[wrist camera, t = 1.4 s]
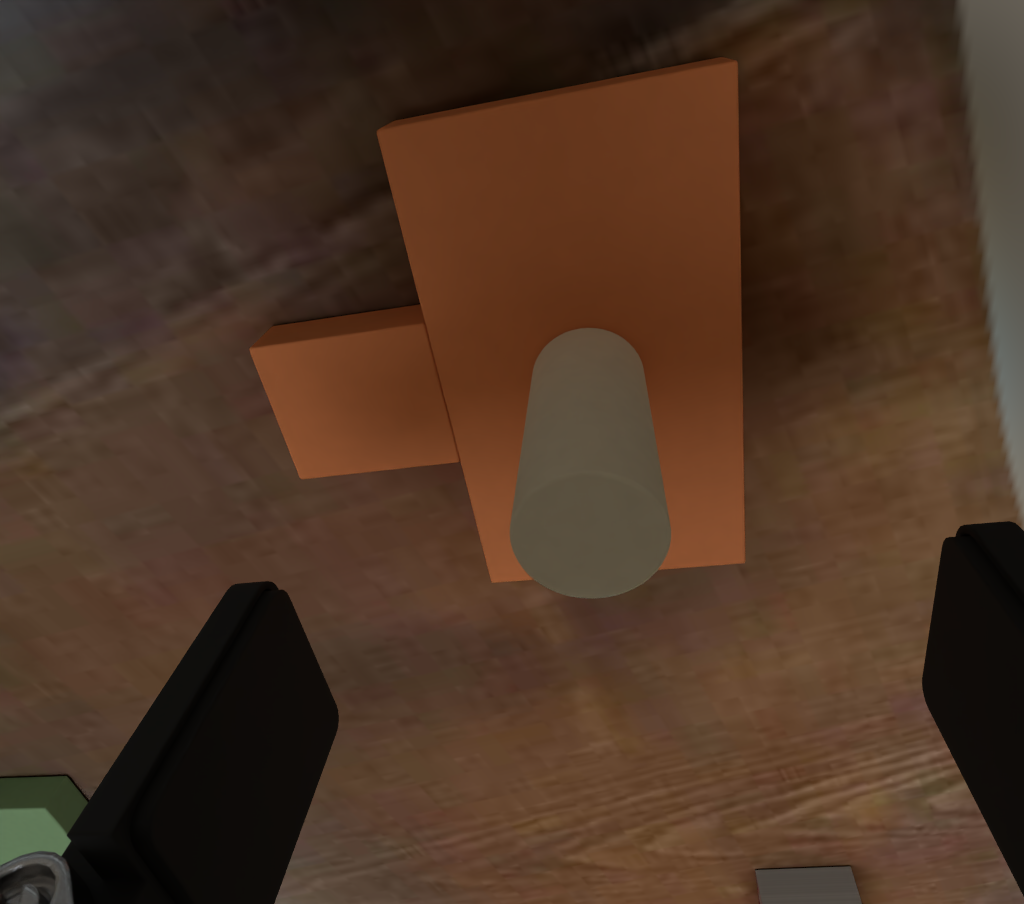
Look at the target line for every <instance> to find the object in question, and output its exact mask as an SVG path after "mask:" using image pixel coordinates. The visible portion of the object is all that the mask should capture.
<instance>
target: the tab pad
mask: <svg viewBox="0 0 1024 904" xmlns="http://www.w3.org/2000/svg"><path fill="white" fill-rule="evenodd" d="M377 137H378V141H379V144H380V148H381V152H382V156H383V160H384V164H385V168H386V172H387V176H388V180H389V184H390V187H391V191H392V195H393V199H394V203H395V207H396V211H397V215H398V219H399V223H400V227H401V231H402V234H403V238H404V242H405V246H406V250H407V254H408V258H409V262H410V266H411V270H412V274H413V277H414V281H415V285H416V289H417V293H418V297H419V301H420V304H419V305H412V306H406V307H399V308H392V309H385V310H379V311H372V312H365V313H358V314H352V315H345V316H338V317H332V318H325V319H318V320H311V321H305V322H298V323H291V324H284V325H278V326H272V327H271V328H270V329H269V330H268V331H267V332H266V333H265V334H264V335H263V336H262V337H261V338H260V339H259V340H258V341H257V342H256V343H255V344H254V345H253V346H252V347H251V348H250V349H249V350H250V353H251V356H252V358H253V361H254V363H255V366H256V368H257V371H258V374H259V376H260V379H261V381H262V384H263V386H264V389H265V391H266V394H267V396H268V399H269V401H270V404H271V406H272V409H273V411H274V414H275V416H276V419H277V421H278V424H279V426H280V429H281V431H282V434H283V436H284V439H285V441H286V444H287V447H288V449H289V452H290V454H291V457H292V459H293V462H294V464H295V467H296V469H297V472H298V474H299V477H300V478H301V479H309V478H318V477H327V476H336V475H345V474H355V473H364V472H373V471H382V470H391V469H401V468H410V467H419V466H428V465H437V464H447V463H456V462H459V461H461V465H462V469H463V473H464V477H465V481H466V485H467V489H468V493H469V497H470V501H471V504H472V508H473V512H474V516H475V520H476V524H477V528H478V532H479V536H480V540H481V544H482V547H483V551H484V555H485V559H486V563H487V567H488V571H489V575H490V579H491V582H492V583H497V582H510V581H523V580H535V581H537V582H538V583H540V584H541V585H543V586H545V587H546V588H548V589H550V590H553V591H555V592H558V593H560V594H564V595H568V596H572V597H578V598H604V597H611V596H615V595H619V594H622V593H625V592H628V591H630V590H632V589H634V588H636V587H638V586H639V585H641V584H643V583H644V582H645V581H647V580H648V579H649V578H650V577H651V576H652V575H653V574H654V573H655V572H656V571H657V570H663V569H675V568H688V567H701V566H713V565H726V564H739V563H745V500H744V434H743V368H742V302H741V236H740V170H739V105H738V63H737V61H735V60H732V59H728V58H724V57H718V58H713V59H708V60H703V61H698V62H693V63H688V64H682V65H677V66H672V67H667V68H662V69H657V70H652V71H647V72H641V73H636V74H631V75H626V76H621V77H616V78H611V79H606V80H600V81H595V82H590V83H585V84H580V85H575V86H570V87H565V88H559V89H554V90H549V91H544V92H539V93H534V94H529V95H524V96H518V97H513V98H508V99H503V100H498V101H493V102H488V103H483V104H477V105H472V106H467V107H462V108H457V109H452V110H447V111H442V112H436V113H431V114H426V115H421V116H416V117H411V118H406V119H401V120H395V121H393V122H391V123H389V124H387V125H385V126H384V127H382V128H380V129H378V130H377Z"/></svg>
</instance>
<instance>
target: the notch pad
mask: <svg viewBox="0 0 1024 904" xmlns="http://www.w3.org/2000/svg"><path fill="white" fill-rule="evenodd" d="M87 803H88V802H87V800H86V799H85V798H84V797H83V795H82V794H81V793H80V792H79V790H78V789H77V788H76V787H75V785H74V784H73V783H72V782H71V780H70V779H69V778H68V777H67V776H50V777H21V778H0V865H2V864H4V863H6V862H8V861H10V860H13V859H15V858H17V857H19V856H21V855H24V854H29V853H33V852H37V851H48V852H56V853H57V854H59V855H60V856H62V854H63V853H64V851H65V850H66V848H67V847H68V845H69V844H70V842H71V840H70V839H69V838H68V837H67V836H66V835H67V834H68V832H69V831H70V829H71V828H72V826H73V825H74V823H75V822H76V820H77V819H78V817H79V816H80V814H81V812H82V811H83V809H84V808H85V806H86V805H87Z"/></svg>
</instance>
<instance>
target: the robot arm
mask: <svg viewBox="0 0 1024 904" xmlns="http://www.w3.org/2000/svg"><path fill="white" fill-rule="evenodd" d="M922 687H923V693H924V697H925V701H926V704H927V706H928V708H929V710H930V712H931V714H932V716H933V718H934V720H935V722H936V724H937V726H938V728H939V730H940V732H941V734H942V736H943V738H944V740H945V742H946V744H947V746H948V748H949V750H950V752H951V754H952V756H953V758H954V760H955V762H956V764H957V766H958V768H959V770H960V772H961V774H962V776H963V778H964V780H965V782H966V783H967V785H968V787H969V789H970V791H971V793H972V795H973V797H974V799H975V801H976V803H977V805H978V807H979V809H980V811H981V813H982V815H983V817H984V819H985V821H986V823H987V825H988V827H989V829H990V831H991V833H992V835H993V837H994V839H995V841H996V843H997V845H998V847H999V849H1000V851H1001V853H1002V855H1003V856H1004V858H1005V860H1006V862H1007V864H1008V866H1009V868H1010V870H1011V872H1012V874H1013V876H1014V878H1015V880H1016V882H1017V884H1018V886H1019V888H1020V890H1021V892H1022V894H1023V896H1024V531H1023V530H1022V529H1021V528H1020V527H1019V526H1018V525H1017V524H1016V523H1013V522H1010V521H1007V522H995V523H983V524H970V525H963V526H960V528H959V529H958V531H957V533H956V537H949V538H946V539H945V540H944V542H943V546H942V551H941V558H940V565H939V571H938V578H937V585H936V591H935V598H934V604H933V611H932V618H931V624H930V631H929V638H928V644H927V651H926V657H925V664H924V671H923V677H922ZM338 722H339V715H338V709H337V705H336V703H335V701H334V699H333V696H332V694H331V692H330V689H329V687H328V685H327V682H326V680H325V678H324V676H323V673H322V671H321V669H320V666H319V664H318V662H317V659H316V657H315V655H314V653H313V650H312V648H311V646H310V643H309V641H308V639H307V636H306V634H305V632H304V630H303V627H302V625H301V623H300V620H299V618H298V616H297V613H296V611H295V609H294V606H293V604H292V602H291V600H290V597H289V595H288V594H287V592H285V591H284V590H279V589H278V588H277V586H276V585H275V584H274V583H273V582H269V581H266V582H253V583H241V584H235V585H232V586H231V587H230V588H229V589H228V590H227V592H226V593H225V595H224V596H223V598H222V599H221V601H220V602H219V604H218V605H217V607H216V608H215V610H214V611H213V613H212V614H211V616H210V617H209V619H208V621H207V622H206V624H205V625H204V627H203V628H202V630H201V631H200V633H199V634H198V636H197V637H196V639H195V640H194V642H193V643H192V645H191V646H190V648H189V649H188V651H187V653H186V654H185V656H184V657H183V659H182V660H181V662H180V663H179V665H178V666H177V668H176V669H175V671H174V672H173V674H172V675H171V677H170V678H169V680H168V681H167V683H166V685H165V686H164V688H163V689H162V691H161V692H160V694H159V695H158V697H157V698H156V700H155V701H154V703H153V704H152V706H151V707H150V709H149V710H148V712H147V713H146V715H145V717H144V718H143V720H142V721H141V723H140V724H139V726H138V727H137V729H136V730H135V732H134V733H133V735H132V736H131V738H130V739H129V741H128V742H127V744H126V745H125V747H124V749H123V750H122V752H121V753H120V755H119V756H118V758H117V759H116V761H115V762H114V764H113V765H112V767H111V768H110V770H109V771H108V773H107V774H106V776H105V777H104V779H103V780H102V782H101V784H100V785H99V787H98V788H97V790H96V791H95V793H94V794H93V796H92V797H91V799H90V800H89V802H88V803H87V805H86V806H85V808H84V809H83V811H82V812H81V814H80V816H79V817H78V819H77V820H76V822H75V823H74V825H73V826H72V828H71V829H70V831H69V832H68V834H67V835H66V836H67V837H68V838H69V839H70V840H71V842H70V844H69V845H68V847H67V848H66V850H65V851H64V853H63V854H62V856H60V855H59V854H57V853H56V852H48V851H37V852H33V853H29V854H24V855H21V856H19V857H17V858H15V859H13V860H10V861H8V862H6V863H4V864H2V865H0V904H274V903H275V900H276V897H277V895H278V892H279V889H280V886H281V884H282V881H283V878H284V875H285V873H286V870H287V867H288V864H289V862H290V859H291V856H292V853H293V851H294V848H295V845H296V842H297V840H298V837H299V834H300V831H301V829H302V826H303V823H304V820H305V818H306V815H307V812H308V809H309V807H310V804H311V801H312V798H313V796H314V793H315V790H316V787H317V785H318V782H319V779H320V777H321V774H322V771H323V768H324V766H325V763H326V760H327V757H328V755H329V752H330V749H331V746H332V744H333V741H334V738H335V735H336V732H337V729H338Z"/></svg>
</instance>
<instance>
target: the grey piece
mask: <svg viewBox="0 0 1024 904" xmlns="http://www.w3.org/2000/svg"><path fill="white" fill-rule="evenodd" d="M755 873H756V881H757V889H758V897H759V904H862V902H861V899H860V895H859V892H858V889H857V886H856V883H855V880H854V876H853V873H852V870H851V867H850V866H846V867H821V868H795V869H770V870H755Z"/></svg>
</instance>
